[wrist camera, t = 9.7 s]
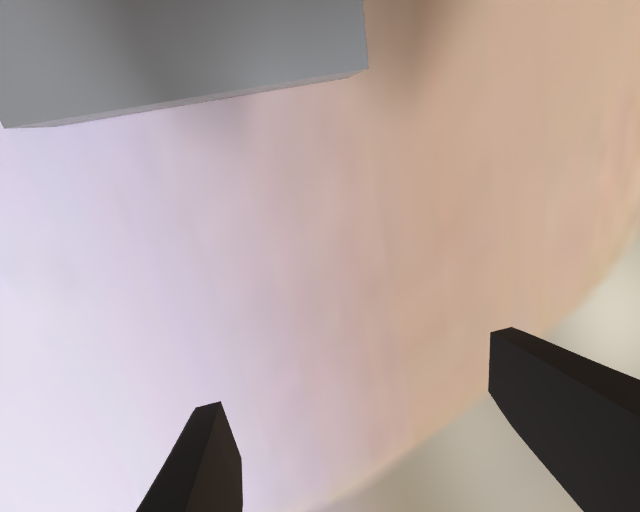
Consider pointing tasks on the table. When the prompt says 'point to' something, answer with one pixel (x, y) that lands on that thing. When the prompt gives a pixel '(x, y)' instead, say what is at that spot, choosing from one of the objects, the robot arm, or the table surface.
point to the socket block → (165, 53)
